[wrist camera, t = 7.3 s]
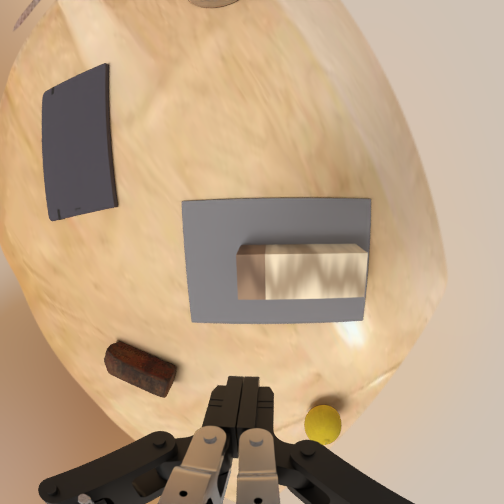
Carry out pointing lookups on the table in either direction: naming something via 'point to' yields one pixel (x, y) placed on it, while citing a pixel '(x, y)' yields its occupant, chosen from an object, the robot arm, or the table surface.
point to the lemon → (323, 424)
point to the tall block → (301, 271)
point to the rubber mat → (266, 233)
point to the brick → (140, 368)
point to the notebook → (78, 146)
